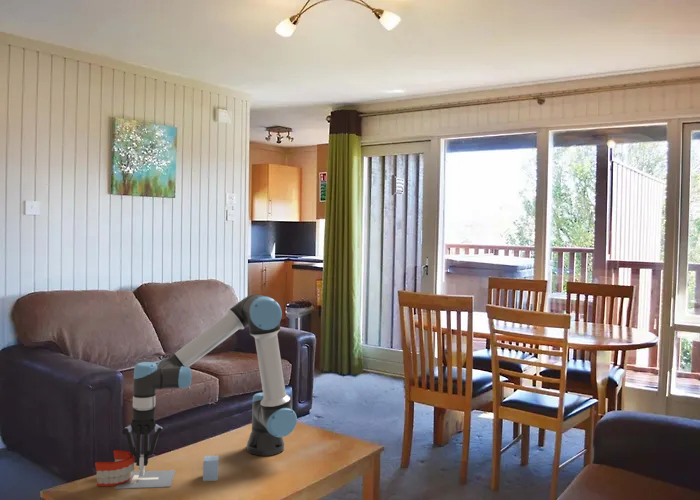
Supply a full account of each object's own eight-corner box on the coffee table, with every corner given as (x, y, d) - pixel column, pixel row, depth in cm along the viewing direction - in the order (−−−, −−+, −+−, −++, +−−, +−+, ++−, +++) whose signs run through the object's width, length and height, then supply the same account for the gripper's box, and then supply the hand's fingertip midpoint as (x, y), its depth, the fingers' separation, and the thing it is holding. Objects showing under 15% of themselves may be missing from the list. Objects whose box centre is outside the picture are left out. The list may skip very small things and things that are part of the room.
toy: (122, 488, 197) (122, 465, 197) (94, 486, 198) (94, 463, 198) (141, 473, 209) (141, 451, 209) (115, 472, 211) (114, 450, 211)
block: (218, 474, 212) (218, 455, 212) (217, 480, 207) (218, 460, 207) (204, 475, 212) (204, 455, 211) (202, 480, 207) (203, 461, 206)
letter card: (175, 471, 214) (175, 470, 214) (170, 487, 200) (170, 486, 200) (123, 472, 211) (123, 471, 211) (114, 489, 197) (114, 488, 197)
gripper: (164, 404, 210) (162, 469, 210) (126, 404, 208) (124, 471, 208) (161, 410, 202) (159, 478, 203) (122, 410, 200) (120, 479, 200)
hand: (141, 474), depth 205 cm, fingers closed
